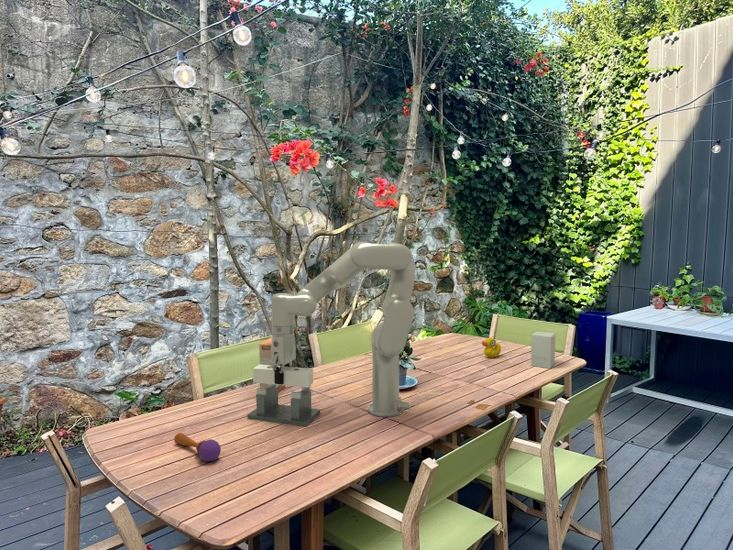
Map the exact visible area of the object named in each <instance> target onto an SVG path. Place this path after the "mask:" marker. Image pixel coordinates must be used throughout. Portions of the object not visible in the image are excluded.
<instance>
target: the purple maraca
mask: <svg viewBox="0 0 733 550" xmlns="http://www.w3.org/2000/svg"><path fill="white" fill-rule="evenodd" d="M173 441H174V443H175V444H176V443H177V445H183V446H187V447H193V448H195V449H196V452H197V454H198V455H199V458H200V459H201V460H203V461H204V462H207V461H211V462H213V461H216V460H217V459H218V458H219V457H220V455H221V451H222V450H221V445H220V443H219V442H218V441H217V440H215V439H207V440H202V441H200V442H196V441H195V440H193V439H192V438H191V437H188V436H187V435H185V434H184V433H182V432H178V433H176V435H175V436H174V439H173Z"/></svg>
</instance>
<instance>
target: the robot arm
mask: <svg viewBox="0 0 733 550" xmlns="http://www.w3.org/2000/svg"><path fill="white" fill-rule="evenodd" d="M365 269H366V270H385V271H386V270H387V271H388V270H389V271H390V279H389V283H388V286H387V290H386V293H385V297H384V299H383V303H382V305H381V312H382V314H383V317H384V319H383V322H381V323H378V324H377V325H376V326H375V327H374V328H373V330H372V333H371V339H370V341H371V354H372V355H371V356H372V357H371V358H372V359H371V360H372V370H371V371H372V375H371V376H372V382H371V383H372V385H371V386H372V397H371V399H372V401H371V402H372V403H370V404H368V406H367V411H368V413H370V414H371V415H373V416H376V417H383V418H385V417H386V418H387V417H388V418H389V417H395V416H399V415H401V414H402V413H403V412H404V410H409V411H410V410H411V406H412V405H411V403H410V401H403V400H402V397H401V396H400V354H401V353H402V352H403V350H404V349H405V347H406V344H407V341H408V338H409V335H410V331H411V327H412V323H413V321H414V316H415V311H414V306H413V304H412V302H411V298H412V293H413V289H414V286H415V280H416V270H415V265H414V262H413V255H412V250H410V248H409V247H408V246H406V245H404V244H402V243H398V242H390V243H386V244H384V243H371V242H370V243H369V242H365V241H359V242H357V243H355V244H353V245H352V246H351V247H350V248H348V249H347V251H346V252H344V253H343V254H342V255H340V257H338V258H337V259H336V260H335V261H333V262H332V264H331V265H329V266H328V267H327V268H325V269H324V270H323V271H322V272H320V273H319V274H318V275H317V276H315V278H313V279H312V280H310V281H309V282H308V283H307V284H306V285H304V287H303V288H302V289H300V290H298V292H297V293H296V295H293V294H291V293H288V292H282V293H281V292H280V293H279V292H278V293H274V294H273V295H271V298H270V299H271V300H270V303H271V304H270V305H271V312H270V313H271V335H272V336H271V337H272V346H271V361H272V364H271V367H272V368H273V370H274V377H275V384H281V385H282V384H284V373H282V372H283V365H284V366H285V367H293V362H294V360H295V359H296V357H297V352H296V351H297V349H296V347H297V345H296V337H295V321H294V319H295V316H299V317H309V316H311V315H313V314H314V313H315V312H316V310H317V306H318V303H319V302H320V301H322V300H323V299H324V298H325V297H326V296H327V295H329V294H331V293H332V292H334V291H335V290H339V289H342V288H343V287H345V286H347V284H348V283H350V282H351V281H352V280H353V279H354V278H355V277H356V276H358V275H359V274H360V273H361V272H362V271H364V270H365ZM277 362H280V364H279V363H277ZM277 365H280V368H279V367H278V366H277ZM400 413H401V414H400ZM398 414H399V415H398Z"/></svg>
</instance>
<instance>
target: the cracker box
mask: <svg viewBox="0 0 733 550" xmlns="http://www.w3.org/2000/svg"><path fill="white" fill-rule="evenodd" d="M271 346H272V336H271V337H269V338H267V339H266V340H264V341H262V342H260V343H259V365H271V364H272V361H271ZM277 363H279V364H280V362H277ZM277 366H280V365H277ZM283 366H284V365H283ZM286 386H287V385H277V387H278V393H280V392H281V390H283V389H284V388H285V387H286ZM259 388H265V389H266V388H268V384H264V383H259Z"/></svg>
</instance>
